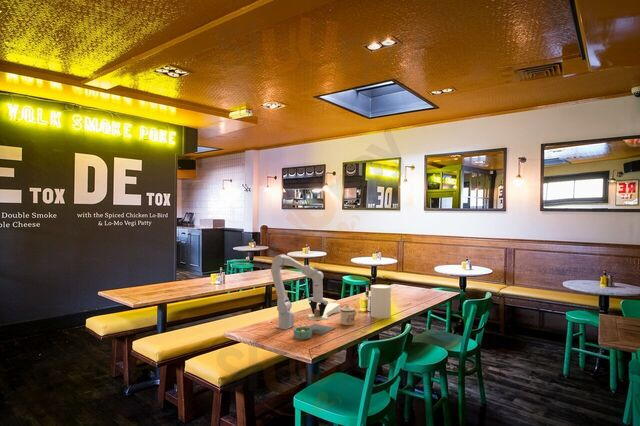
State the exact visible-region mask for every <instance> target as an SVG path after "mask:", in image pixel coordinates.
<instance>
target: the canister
mask: <svg viewBox="0 0 640 426" xmlns="http://www.w3.org/2000/svg"><path fill="white" fill-rule="evenodd" d="M391 286H392V285H389V284H380V283H379V284H371V285H370V317H372V318H374V319H380V320H381V319H389V318H391V317H392V308H391V307H392V299H391V298H392V293H391V291H392V287H391Z"/></svg>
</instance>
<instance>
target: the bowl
mask: <svg viewBox="0 0 640 426" xmlns="http://www.w3.org/2000/svg"><path fill="white" fill-rule="evenodd" d="M312 337H313V333H312V329H311V328H310V327H309V326H297V327H295V328H293V338H294V339H297V340H308V339H312Z"/></svg>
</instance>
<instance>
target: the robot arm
mask: <svg viewBox="0 0 640 426" xmlns="http://www.w3.org/2000/svg"><path fill="white" fill-rule="evenodd" d="M287 265H288V266H291V267H293V268H296V269H298V270H300V271H301V273H302V275H304V276H305V277H308V278H309V279H312V291H313V292H312V295H313V296H311V297H308V305H309V306H310V309H311V313H312V314H314V309H319V310H320V316H323V314H324V311H325V308H326V306H327V304H329V300H326V299H324V298H323V296H324V293H323V292H324V290H323V289H324V286H323V279H324V277H325V276H324V272H322V271H321V270H318V269H316V268H315V269H314V267H311V265H310V264H305V265H303V264H302V263H300V262H299V261H298V260H296V259H295V258H292V257H291V256H289V255H286V254H284V253H281V254H279V255H275V256H274V257H273V259H272V263H271V268H270V272H271V276H272V280H273V284H274V288H275V293H276V295H277V301H276V305H277V307H276V310H277V311H278V325H277V326H275V328H277V329H281V330H287V329H290V328H293V327H295V326H296V325H295V314H294V313H293V311H292V310H291V309H292V306H293V304H292V302H291V300H289V299H290V298H289V297H288V296H287V293H286V289H285V285H284V281H283V278H282V274H281V270H282V269H283V267H284V266H287ZM317 307H318V308H317Z"/></svg>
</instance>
